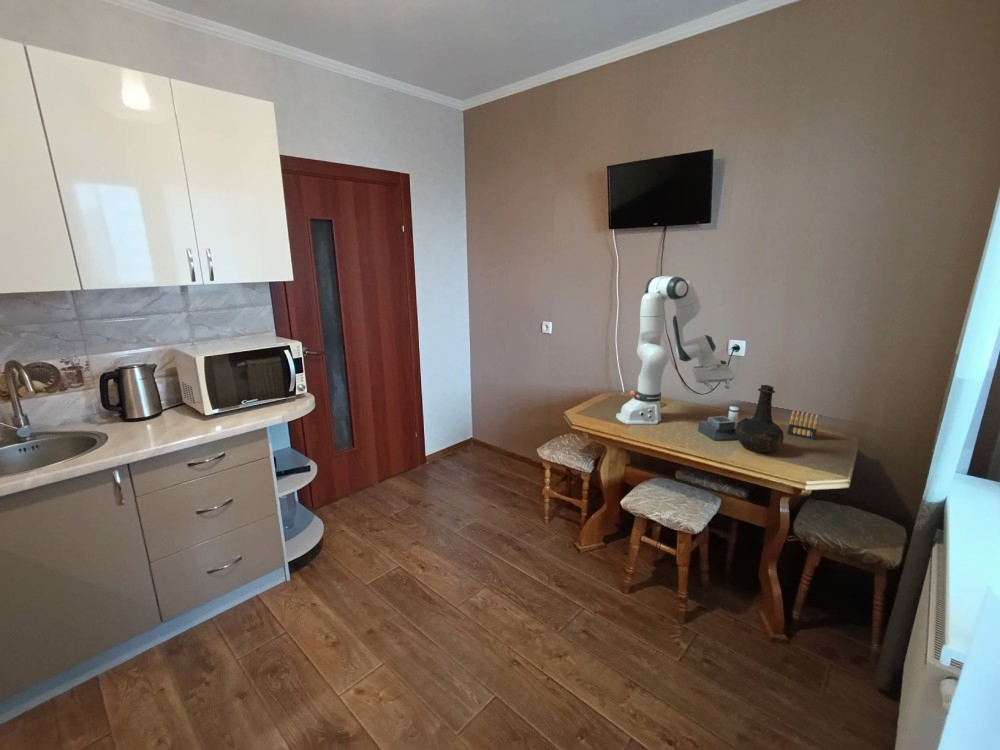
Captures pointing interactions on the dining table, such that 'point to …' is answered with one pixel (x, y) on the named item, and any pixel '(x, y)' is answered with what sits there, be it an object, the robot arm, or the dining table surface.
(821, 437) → the dining table surface
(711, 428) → the square socket base
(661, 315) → the robot arm
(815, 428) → the ammunition clip
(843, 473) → the dining table surface
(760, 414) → the glass bottle
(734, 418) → the dome-capped cylinder
